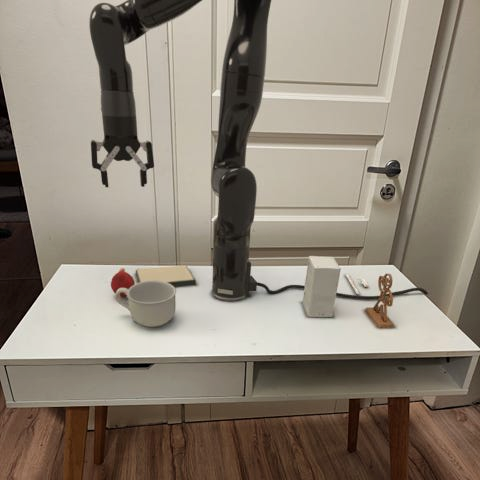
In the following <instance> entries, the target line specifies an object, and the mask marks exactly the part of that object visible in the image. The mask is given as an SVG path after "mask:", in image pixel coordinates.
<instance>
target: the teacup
mask: <svg viewBox="0 0 480 480" xmlns="http://www.w3.org/2000/svg"><path fill="white" fill-rule="evenodd" d="M120 293H125V294H126V295H127V297H126V298H127V299H128V302H127V301H126V300H124V298H122V297H121V296H120ZM176 294H177V289H176V287H174V286H172V285H171V284H169V283H167V282H164V281H154V280H151V281H143V282H139V283H138V282H137V283H135V285H133V286H132V287H130V288H129V289H127V288H119V289H118V290H117V291H116V293H114V298H115V300H116V302H117V303H119V305H121V306H122V307H124V308H125V309H127V310H128V312H129V314H130V316H131V318H132V320H133V321H135V322H136V323H138V324H139V325H141V326H144V327H147V328H157V327H161V326H164V325H165V324H167V323H168V322H170V321H171V320H172V319H173V318H174V315H175V313H176V308H177V307H176V304H177V302H176Z"/></svg>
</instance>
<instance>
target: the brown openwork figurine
mask: <svg viewBox="0 0 480 480" xmlns="http://www.w3.org/2000/svg"><path fill="white" fill-rule="evenodd" d="M393 281H394V280H393V276H392V274H391V273H385V274H383V275H379V277H378V279H377V285H378V290H379V292H380V293H379V296H380V298H379V299H377V302H376V303H375V304H374V306H372V307H368V306H367V307H365V309H364V312H365V313H366V314H367V316H368V318H370V319H371V321H372V322H373V323H374V324H375V325H376V327H377V328H378V329H393V328H394V326H395V323H394V322H393V321H392V320H391V318H390V317H388V307H389V308H391V307H393V303H394V296H393V295H392V291H391V288H392V286H393ZM385 294H389V295H390V297H389V296H386V297H385ZM380 303H381V304H380ZM379 304H380V305H379Z"/></svg>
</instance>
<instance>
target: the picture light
mask: <svg viewBox="0 0 480 480" xmlns="http://www.w3.org/2000/svg"><path fill="white" fill-rule="evenodd" d="M345 277H346V278H347V280H348V282H349V283H350V285H351V287H352V289H353V290H354V292H355V295H357V296H360V292H359V290H358V289H357V287H356V286H355V284H354V282H355V281H357V280H359V281H360V284H361V285H362V286H363V287H364V288H368V287H369V283H368V282H367V281H366V279H363V278H362V279H361V278H359V277H358V278H357V277H355V278H353V279H352V278H351V276H350V275H349V274H348V273H345Z"/></svg>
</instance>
